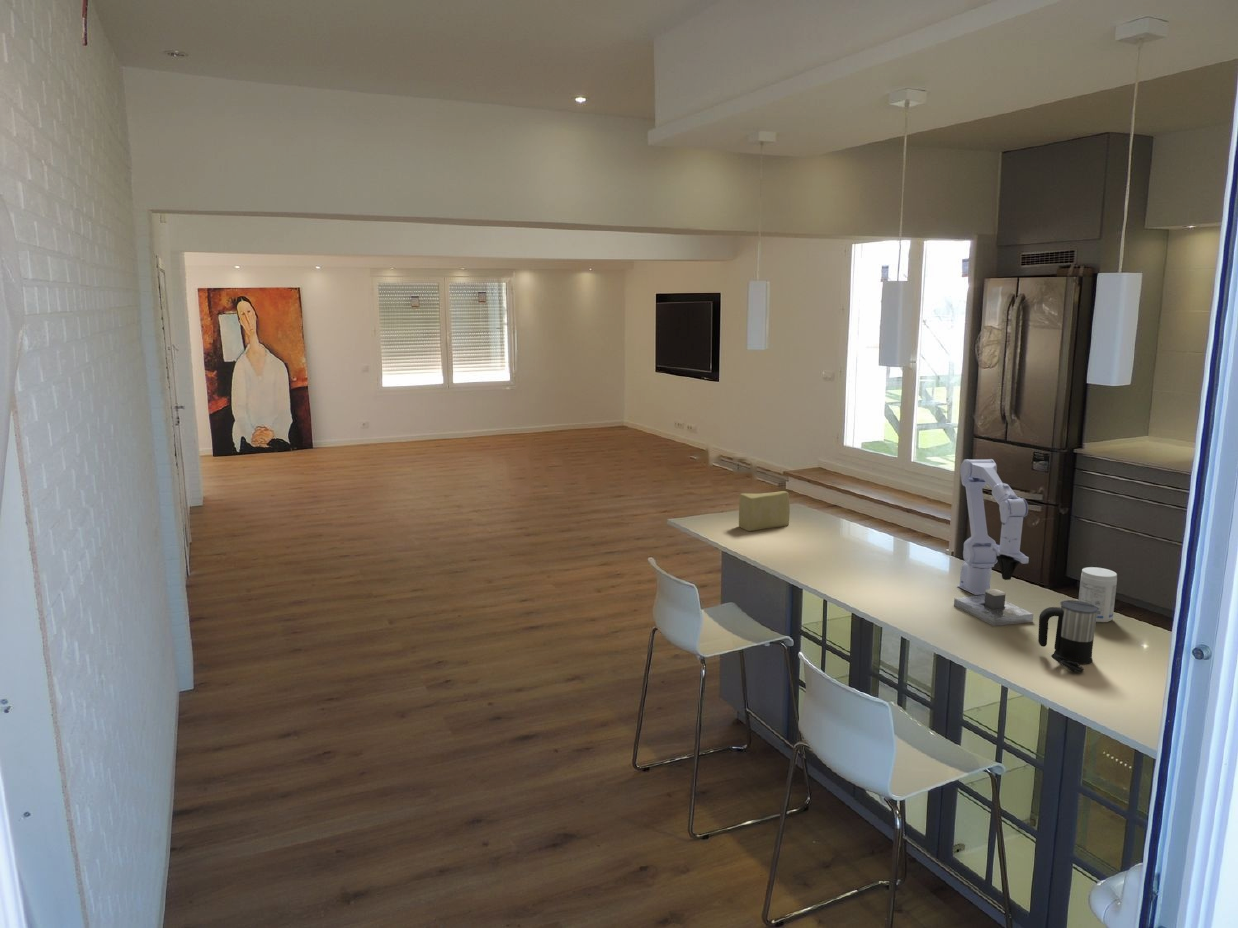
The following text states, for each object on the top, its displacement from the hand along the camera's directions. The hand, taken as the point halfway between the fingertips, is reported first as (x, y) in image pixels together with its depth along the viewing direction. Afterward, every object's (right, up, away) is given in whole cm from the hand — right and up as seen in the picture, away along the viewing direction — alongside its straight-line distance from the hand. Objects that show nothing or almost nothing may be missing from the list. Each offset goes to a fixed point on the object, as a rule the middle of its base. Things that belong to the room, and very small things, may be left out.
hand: (1006, 579), depth 260 cm
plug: (-5, -10, -2) cm, 11 cm away
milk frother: (0, -17, -38) cm, 41 cm away
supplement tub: (+25, -11, -5) cm, 27 cm away
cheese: (-58, +9, +98) cm, 114 cm away
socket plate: (-5, -10, -2) cm, 12 cm away
